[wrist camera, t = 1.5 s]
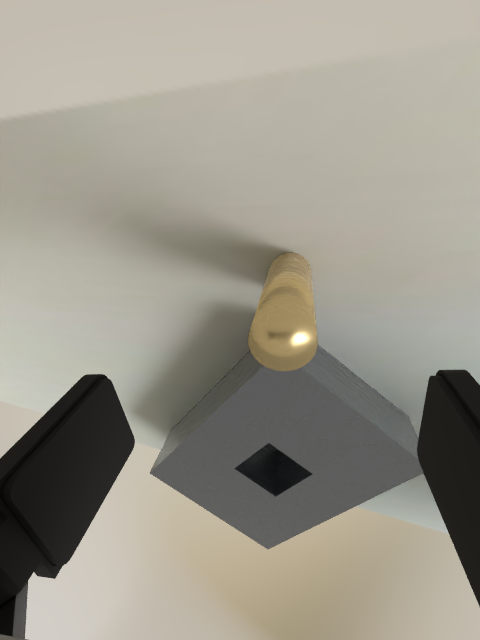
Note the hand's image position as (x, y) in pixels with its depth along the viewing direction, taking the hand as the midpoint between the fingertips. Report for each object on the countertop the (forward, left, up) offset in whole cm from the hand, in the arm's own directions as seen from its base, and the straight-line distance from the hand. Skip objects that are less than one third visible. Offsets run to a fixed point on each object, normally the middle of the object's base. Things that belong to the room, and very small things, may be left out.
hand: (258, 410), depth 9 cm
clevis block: (-10, +12, -15) cm, 21 cm away
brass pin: (-1, 0, -15) cm, 15 cm away
